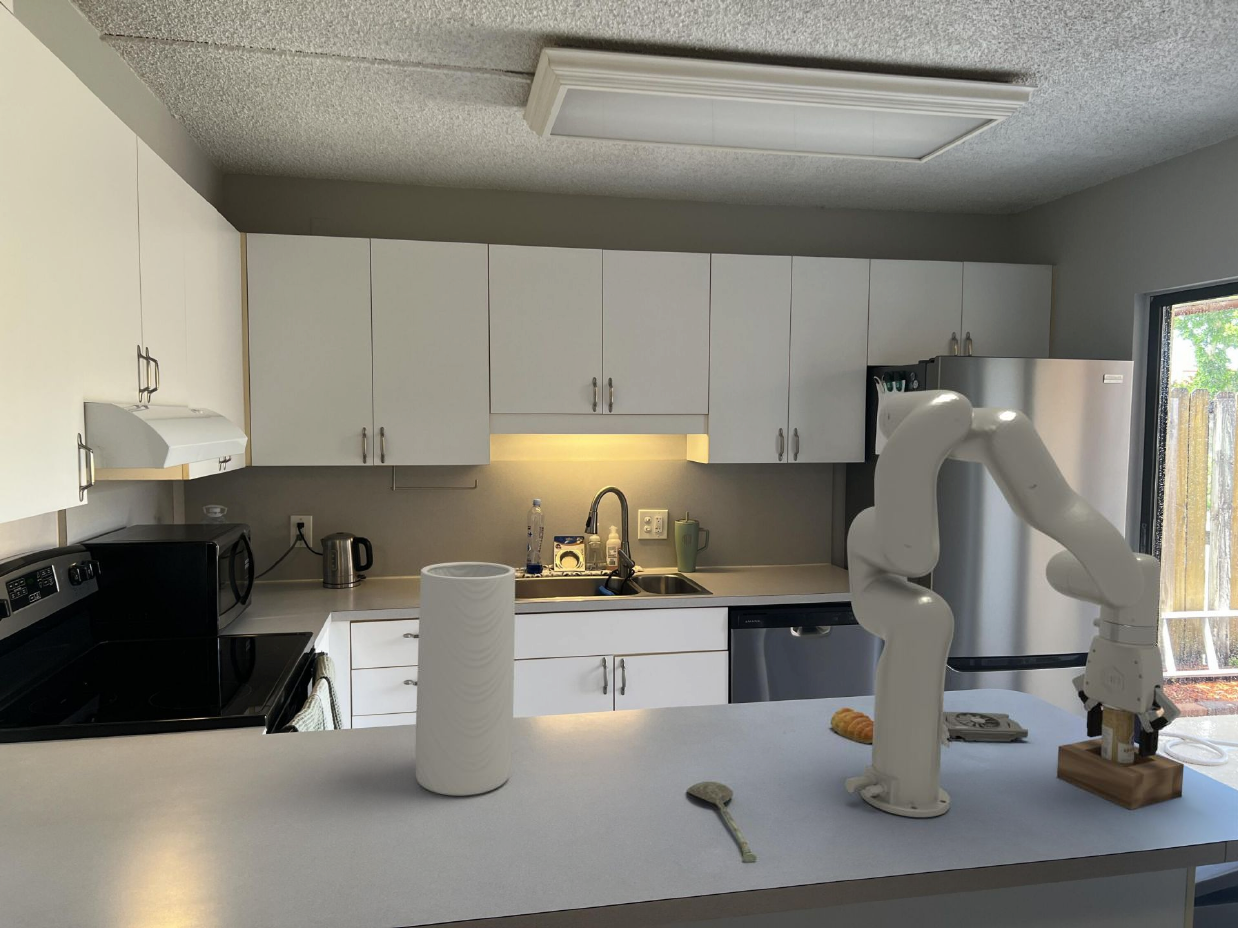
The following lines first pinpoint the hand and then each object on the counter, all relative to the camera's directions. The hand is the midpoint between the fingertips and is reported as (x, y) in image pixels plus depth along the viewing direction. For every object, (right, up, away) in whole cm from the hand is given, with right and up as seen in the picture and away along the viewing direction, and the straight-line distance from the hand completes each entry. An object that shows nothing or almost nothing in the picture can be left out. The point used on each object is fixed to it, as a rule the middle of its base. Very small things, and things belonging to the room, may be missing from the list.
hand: (1120, 744), depth 130 cm
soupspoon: (-63, -6, -15) cm, 65 cm away
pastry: (-35, -5, +20) cm, 41 cm away
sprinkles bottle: (0, -6, 0) cm, 6 cm away
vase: (-101, -4, -4) cm, 101 cm away
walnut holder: (0, -7, 0) cm, 7 cm away
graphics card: (-14, -6, +21) cm, 25 cm away
